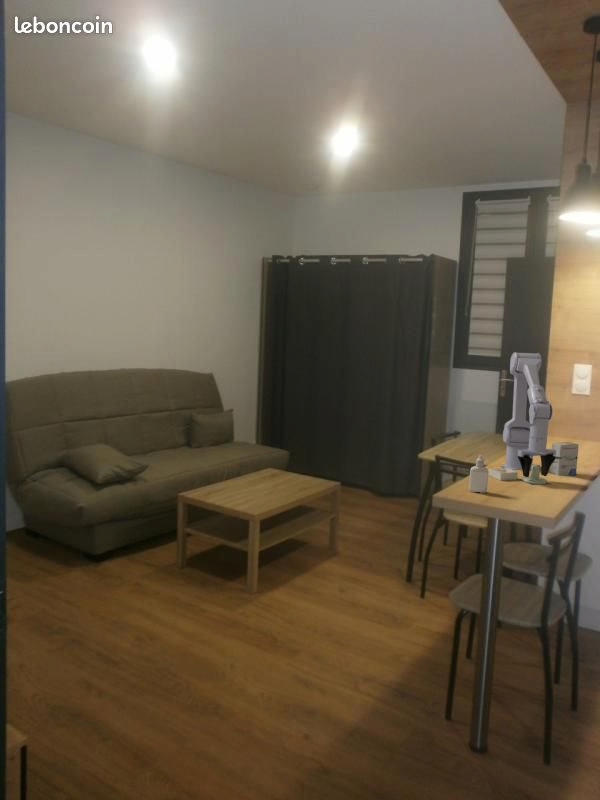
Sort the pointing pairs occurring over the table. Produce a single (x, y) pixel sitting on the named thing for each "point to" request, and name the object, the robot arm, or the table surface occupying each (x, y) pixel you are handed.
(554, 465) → the ink box
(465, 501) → the table surface
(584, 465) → the table surface
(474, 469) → the eye dropper bottle
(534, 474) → the lid
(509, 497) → the table surface
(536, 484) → the mat
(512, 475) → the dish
